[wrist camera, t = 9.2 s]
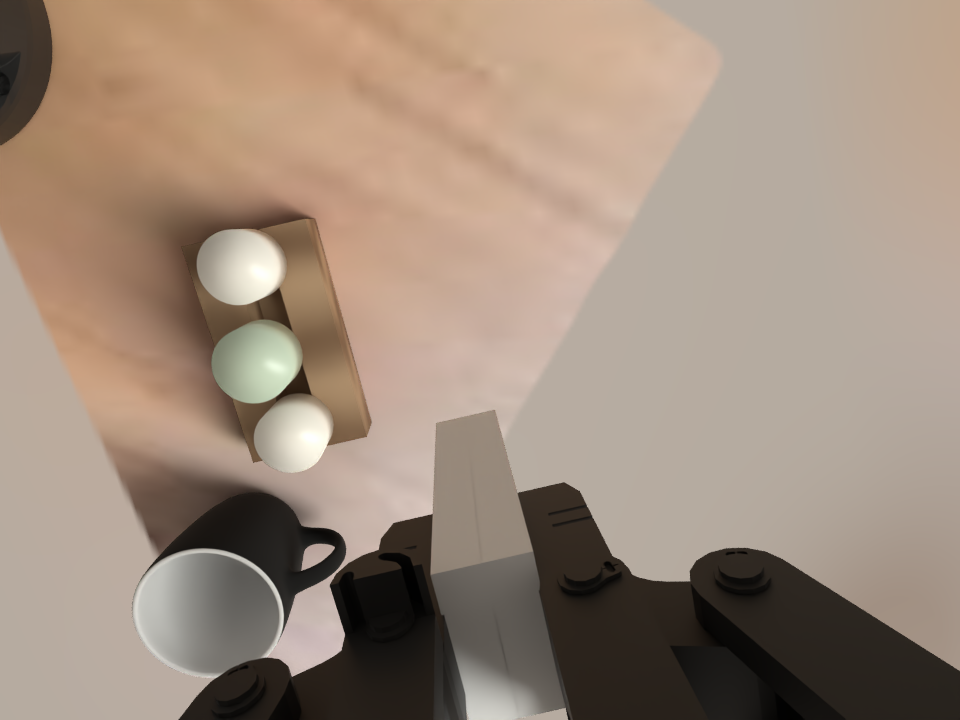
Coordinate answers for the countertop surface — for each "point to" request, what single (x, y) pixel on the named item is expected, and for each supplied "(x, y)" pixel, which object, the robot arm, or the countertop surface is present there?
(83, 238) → the countertop surface
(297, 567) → the mug
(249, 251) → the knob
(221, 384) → the knob mid
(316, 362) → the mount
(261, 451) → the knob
